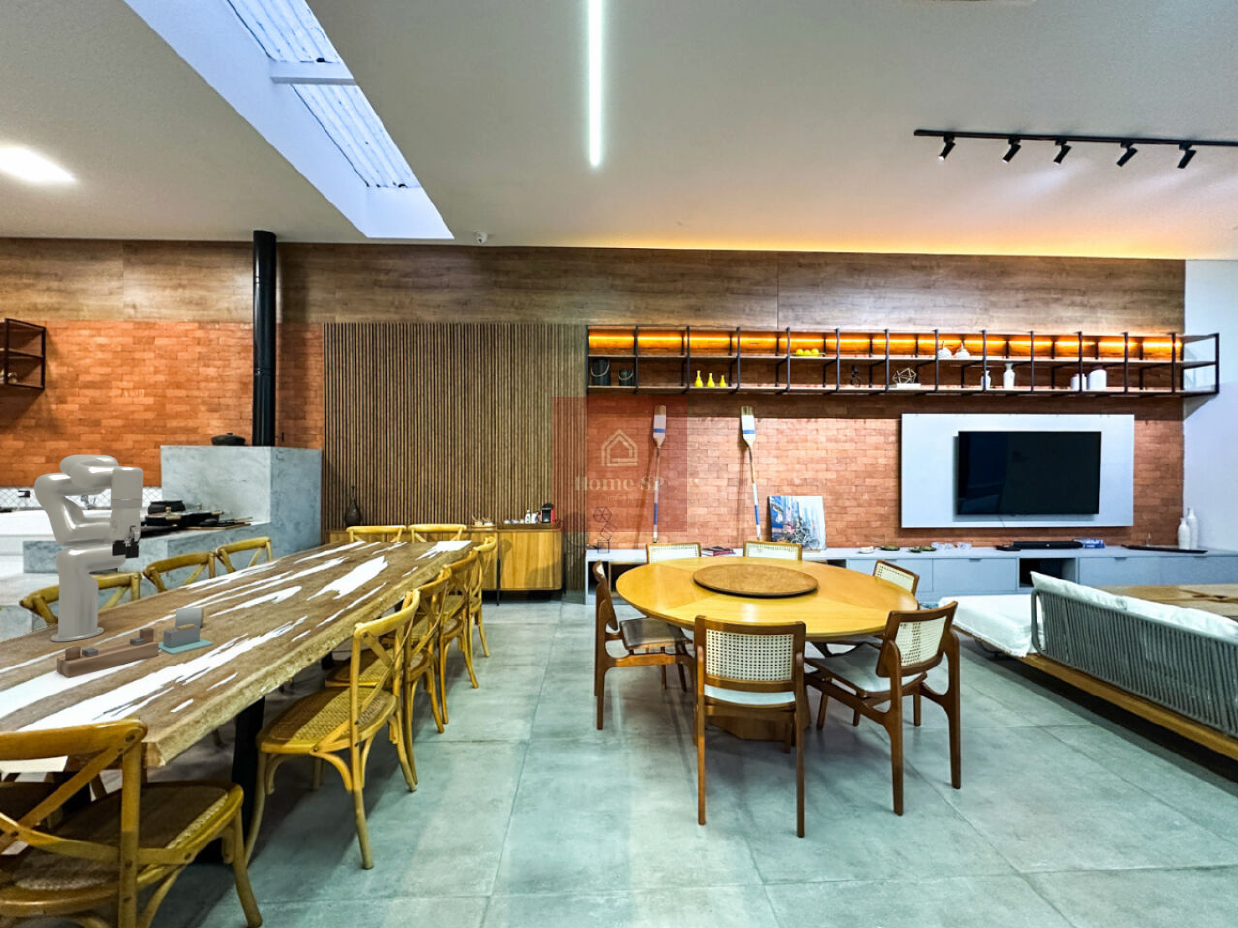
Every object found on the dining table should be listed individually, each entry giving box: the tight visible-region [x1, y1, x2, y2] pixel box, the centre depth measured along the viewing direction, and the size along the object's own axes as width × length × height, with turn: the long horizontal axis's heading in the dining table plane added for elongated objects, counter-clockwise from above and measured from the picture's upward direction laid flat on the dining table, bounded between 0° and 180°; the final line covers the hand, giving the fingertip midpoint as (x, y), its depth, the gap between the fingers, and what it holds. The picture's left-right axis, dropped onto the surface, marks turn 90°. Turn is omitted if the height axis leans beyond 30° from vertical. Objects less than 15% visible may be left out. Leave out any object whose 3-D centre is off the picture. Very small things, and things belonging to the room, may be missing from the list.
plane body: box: [56, 627, 159, 679], centre depth 154 cm, size 9×20×8 cm, turn 153°
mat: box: [158, 638, 214, 656], centre depth 170 cm, size 16×11×1 cm
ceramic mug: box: [174, 607, 205, 628], centre depth 189 cm, size 11×8×8 cm
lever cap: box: [162, 624, 201, 649], centre depth 170 cm, size 5×8×6 cm, turn 153°
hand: (125, 556), depth 166 cm, fingers open, 9 cm apart
